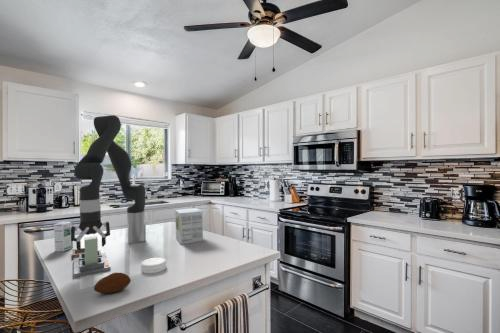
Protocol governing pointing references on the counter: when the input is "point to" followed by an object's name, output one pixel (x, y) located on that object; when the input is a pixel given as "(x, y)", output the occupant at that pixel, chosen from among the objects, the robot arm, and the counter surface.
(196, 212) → the supplement box
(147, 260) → the coaster
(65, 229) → the syrup box
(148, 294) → the counter surface
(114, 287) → the potato
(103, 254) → the rack
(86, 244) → the peg
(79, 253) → the bracket
